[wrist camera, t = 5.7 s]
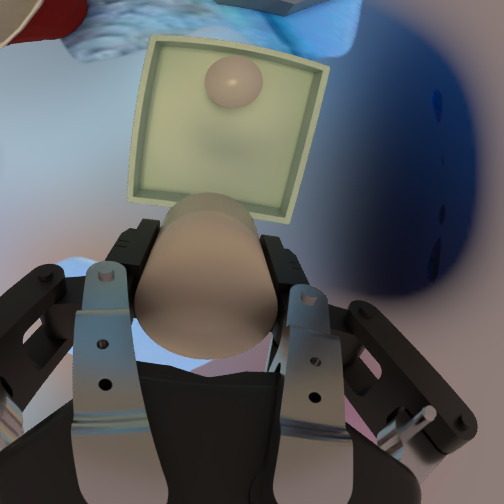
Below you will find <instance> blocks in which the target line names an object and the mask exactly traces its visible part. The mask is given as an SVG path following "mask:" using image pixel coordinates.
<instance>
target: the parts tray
mask: <svg viewBox="0 0 504 504" xmlns="http://www.w3.org/2000/svg"><path fill="white" fill-rule="evenodd" d="M227 56H242V57H245V58H248V59H249V60H251V61H253V62H254V63H255V64H256V65H257V66H258V68H259V69H260V71H261V73H262V77H263V86H262V90H261V92H260V94H259V95H258V97H257V98H256V99H255V100H254V101H253V102H252V103H250V104H248V105H246V106H244V107H240V108H224V107H221V106H219V105H217V104H216V103H215V102H214V101H213V100H212V99H211V98H210V97H209V95H208V94H207V92H206V89H205V76H206V73H207V71H208V69H209V68H210V66H211V65H212V64H213V63H214V62H216V61H217V60H219V59H221V58H223V57H227ZM329 71H330V67H329V66H326V65H323V64H320V63H317V62H314V61H311V60H308V59H305V58H301V57H298V56H294V55H291V54H287V53H284V52H280V51H276V50H272V49H267V48H263V47H258V46H253V45H248V44H243V43H237V42H231V41H225V40H218V39H210V38H201V37H190V36H176V35H151V37H150V40H149V44H148V48H147V52H146V57H145V61H144V66H143V70H142V75H141V80H140V85H139V90H138V96H137V103H136V109H135V115H134V122H133V130H132V138H131V147H130V158H129V171H128V185H127V202H131V203H140V204H149V205H157V206H165V207H173V206H174V205H175V204H176V203H177V202H179V201H180V200H182V199H183V198H186V197H188V196H190V195H193V194H197V193H205V192H211V193H219V194H223V195H226V196H229V197H231V198H233V199H235V200H236V201H238V202H239V203H240V204H242V205H243V206H244V207H245V208H246V209H247V211H248V212H249V213H250V215H251V217H252V219H259V220H266V221H273V222H278V223H285V224H290V220H291V217H292V213H293V210H294V206H295V203H296V199H297V196H298V191H299V188H300V184H301V181H302V177H303V174H304V170H305V166H306V163H307V158H308V155H309V151H310V147H311V144H312V140H313V136H314V132H315V128H316V124H317V120H318V116H319V112H320V108H321V104H322V100H323V96H324V92H325V88H326V84H327V80H328V75H329Z"/></svg>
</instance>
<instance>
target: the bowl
mask: <svg viewBox="0 0 504 504" xmlns="http://www.w3.org/2000/svg"><path fill="white" fill-rule="evenodd" d="M214 1H215V2H216V3H217V4H222V5H230V6H236V7H242V8H248V9H253V10H258V11H263V12H267V13H272V14H276V15H280V16H287V15H289V14H292V13H294V12H297V11H300V10H302V9H305V8H308V7H310V6H313V5H316V4H319V3H322V2H325V1H328V0H214Z"/></svg>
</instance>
